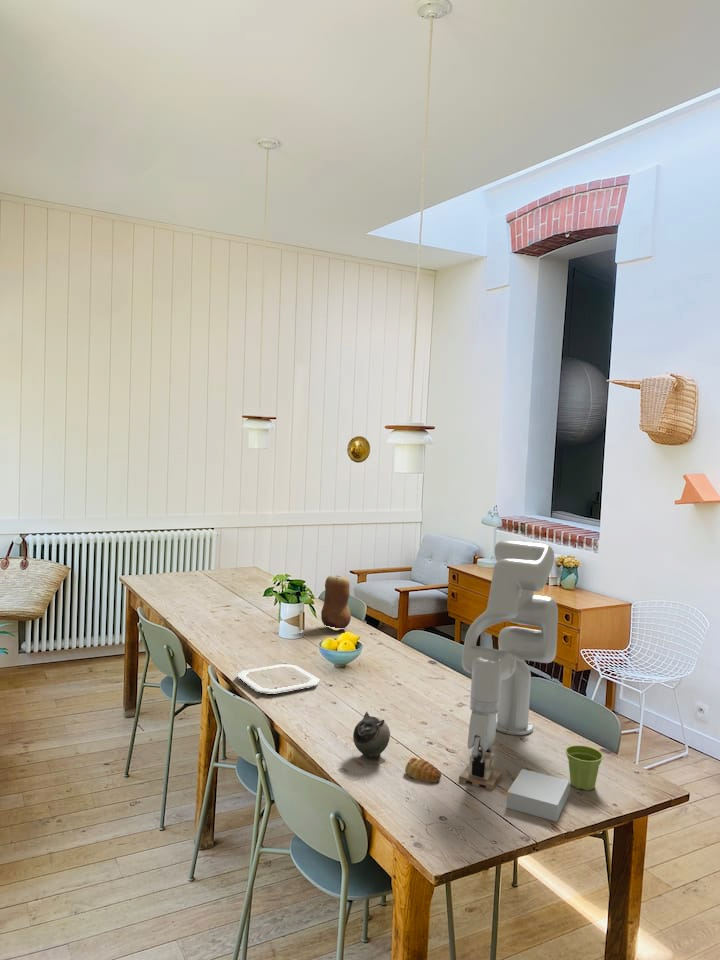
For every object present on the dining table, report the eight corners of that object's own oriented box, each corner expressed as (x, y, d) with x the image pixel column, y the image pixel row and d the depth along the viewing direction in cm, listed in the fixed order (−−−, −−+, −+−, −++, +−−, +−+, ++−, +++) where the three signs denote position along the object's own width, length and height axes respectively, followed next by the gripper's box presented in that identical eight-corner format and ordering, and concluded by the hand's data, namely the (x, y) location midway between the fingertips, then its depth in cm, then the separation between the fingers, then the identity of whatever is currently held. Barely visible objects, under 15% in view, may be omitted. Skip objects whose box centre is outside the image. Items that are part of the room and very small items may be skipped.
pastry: (445, 777, 187) (446, 763, 187) (433, 787, 182) (433, 773, 182) (415, 766, 193) (415, 753, 193) (402, 776, 187) (402, 762, 187)
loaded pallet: (470, 767, 193) (471, 744, 193) (502, 776, 189) (503, 752, 189) (458, 781, 185) (460, 757, 185) (492, 790, 181) (493, 766, 181)
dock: (521, 783, 185) (522, 768, 185) (568, 796, 180) (569, 780, 180) (506, 807, 173) (507, 791, 173) (556, 821, 167) (557, 805, 167)
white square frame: (325, 688, 250) (325, 682, 250) (262, 700, 236) (262, 694, 236) (291, 667, 271) (291, 662, 271) (231, 678, 257) (231, 672, 257)
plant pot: (580, 796, 180) (582, 763, 179) (556, 779, 188) (558, 747, 188) (609, 790, 184) (611, 758, 183) (584, 774, 192) (586, 743, 192)
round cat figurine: (345, 761, 194) (379, 770, 189) (346, 718, 194) (380, 726, 189) (363, 748, 203) (396, 756, 198) (364, 706, 203) (396, 714, 198)
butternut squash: (353, 627, 330) (356, 574, 328) (345, 635, 317) (347, 579, 315) (325, 624, 334) (327, 571, 332) (316, 631, 321) (318, 576, 319)
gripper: (480, 691, 195) (477, 755, 196) (460, 711, 180) (456, 781, 181) (507, 697, 192) (504, 762, 193) (489, 718, 177) (485, 789, 178)
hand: (481, 770), depth 187 cm, fingers closed on loaded pallet, 5 cm apart
